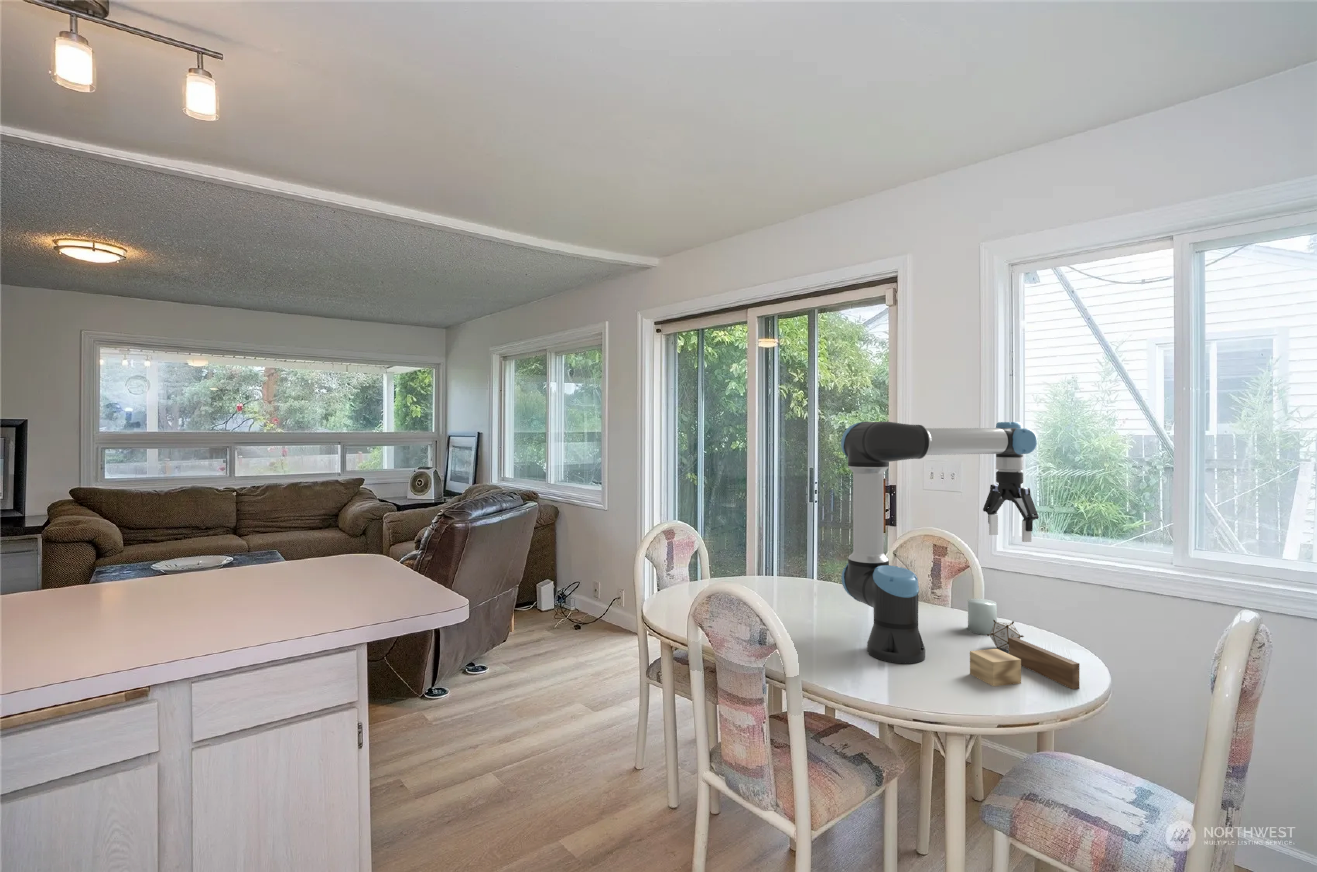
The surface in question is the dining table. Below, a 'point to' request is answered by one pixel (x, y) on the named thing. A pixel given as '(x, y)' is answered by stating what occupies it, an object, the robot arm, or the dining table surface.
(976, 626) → the sage green cylinder
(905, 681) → the dining table surface
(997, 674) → the block
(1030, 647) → the board
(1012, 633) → the game die
